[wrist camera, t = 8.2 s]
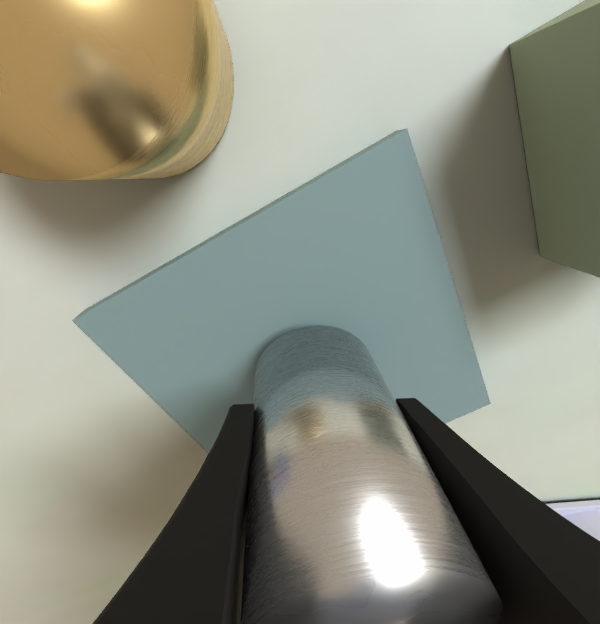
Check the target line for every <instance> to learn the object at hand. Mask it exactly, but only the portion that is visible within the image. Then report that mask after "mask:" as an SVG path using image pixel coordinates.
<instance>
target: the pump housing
mask: <svg viewBox="0 0 600 624" xmlns="http://www.w3.org/2000/svg"><path fill="white" fill-rule="evenodd" d="M509 48H510V55H511V62H512V69H513V75H514V82H515V89H516V96H517V102H518V109H519V116H520V122H521V129H522V136H523V143H524V149H525V156H526V163H527V170H528V176H529V183H530V190H531V197H532V203H533V210H534V217H535V224H536V230H537V237H538V244H539V250H540V256H541V257H544V258H547V259H550V260H552V261H555V262H558V263H561V264H564V265H566V266H569V267H572V268H575V269H578V270H580V271H583V272H586V273H589V274H591V275H594V276H597V277H600V0H585V1H583V2H582V3H580V4H578V5H577V6H575V7H573V8H571V9H570V10H568V11H566V12H565V13H563V14H561V15H560V16H558V17H556V18H554V19H553V20H551V21H549V22H548V23H546V24H544V25H542V26H541V27H539V28H537V29H536V30H534V31H532V32H530V33H529V34H527V35H525V36H524V37H522V38H520V39H518V40H517V41H515V42H513V43H512V44H510V45H509Z"/></svg>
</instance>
